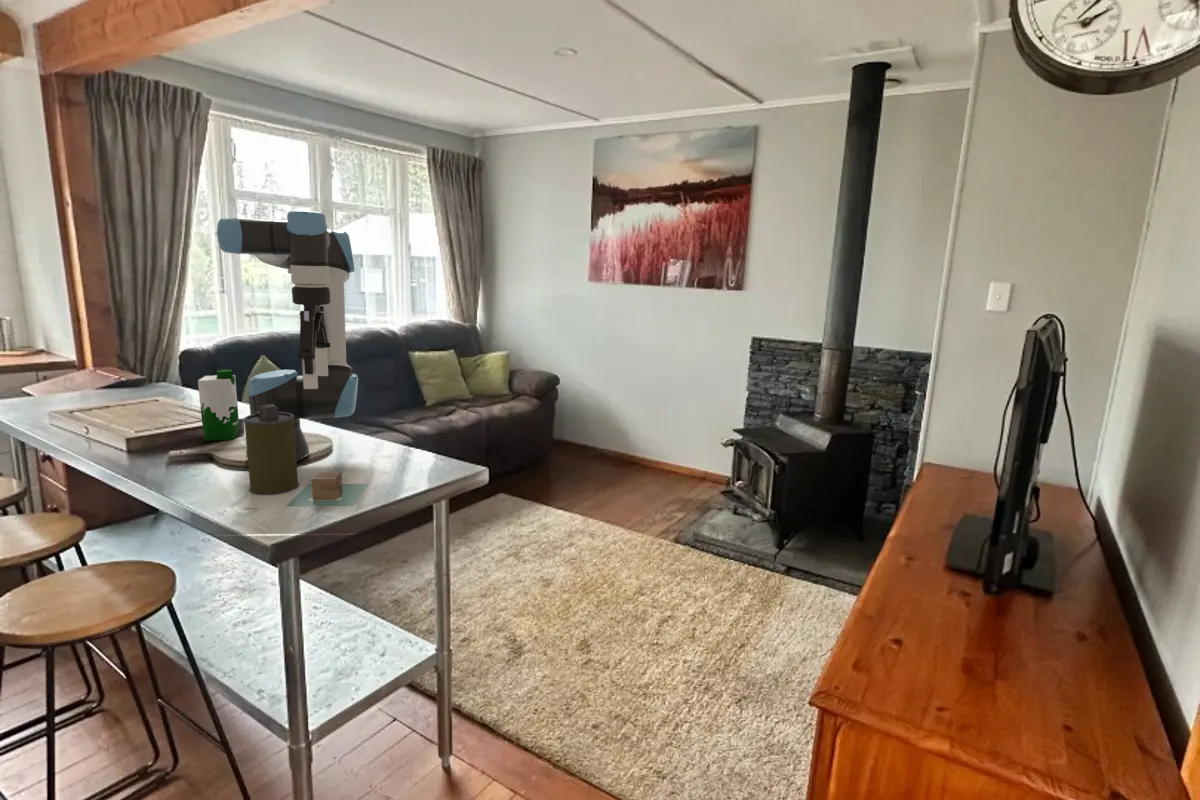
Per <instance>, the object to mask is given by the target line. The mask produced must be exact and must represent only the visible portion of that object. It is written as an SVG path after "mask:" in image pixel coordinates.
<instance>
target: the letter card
mask: <svg viewBox="0 0 1200 800" xmlns="http://www.w3.org/2000/svg"><path fill="white" fill-rule="evenodd" d="M367 487H369V483H342V489H343V492H342V493H341V495H340V496H339V497H338V498H337V500H313V492H312V483H308V484H306V486H304V488H303V489H302V490H301V491H299V492H298V493H297V494H296V496H295V497H294V498H292V500H291V501H289V502H288V504H286V507H353V506H354V505H355V503H357V501H358V499H359V498H360V497H361V495H362V494H363V493H364V491H365V490H366V488H367Z"/></svg>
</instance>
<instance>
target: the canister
mask: <svg viewBox="0 0 1200 800" xmlns="http://www.w3.org/2000/svg"><path fill="white" fill-rule="evenodd" d="M242 421H243V422H244V431H245V432H244V433H245V443H246V450H247V455H248V461H247V463H248V464H247V465H248V466H247V467H248V476H249V485H250V486H249V493H251V494H253V495H255V496H256V495H257V496H275V495H277V496H278V495H282V494H285V493H289V492H292V491H295V490H296V489H298V488H299V486H300V483H299V479H298V478H299V476H298V463H297V462H298V461H296V447H295V433H294V415H293V414H292V413H288V412H278V407H277V406H275V405H274V404H269V405H262V406H259V412H255V414H252V415H247V416H245V417H244V418H243V419H242Z"/></svg>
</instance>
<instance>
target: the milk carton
mask: <svg viewBox="0 0 1200 800" xmlns="http://www.w3.org/2000/svg"><path fill="white" fill-rule="evenodd" d="M197 385H198V394H199V405H200V416H201V423H202V429H203V434H204V439H205V441H206V442H207V441H208V442H209V441H226V440H227V441H228V440H229V441H230V440H231V441H233V440H234V439H235V438H236V437H237V436H238V435H239V431H240V429H239V427H240V426H239V423H240V421H239V420H240V418H239V408H238V407H239V406H238V397H237V386H236V385H237V384H236V375H234V374H233V370H232V369H226V368H225V369H218V370H216V374H215V375H204V376H203V377H201V378H199V379H198V380H197Z"/></svg>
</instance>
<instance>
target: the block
mask: <svg viewBox="0 0 1200 800" xmlns="http://www.w3.org/2000/svg"><path fill="white" fill-rule="evenodd" d="M311 484H312V492H313V500H337V498H338V497H339V496H340V495H341V493H342V492H343V489H342V484H343V474H342V471H318V472H317V473H316V474H315V475H314V476H313V477H312V478H311Z"/></svg>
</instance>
